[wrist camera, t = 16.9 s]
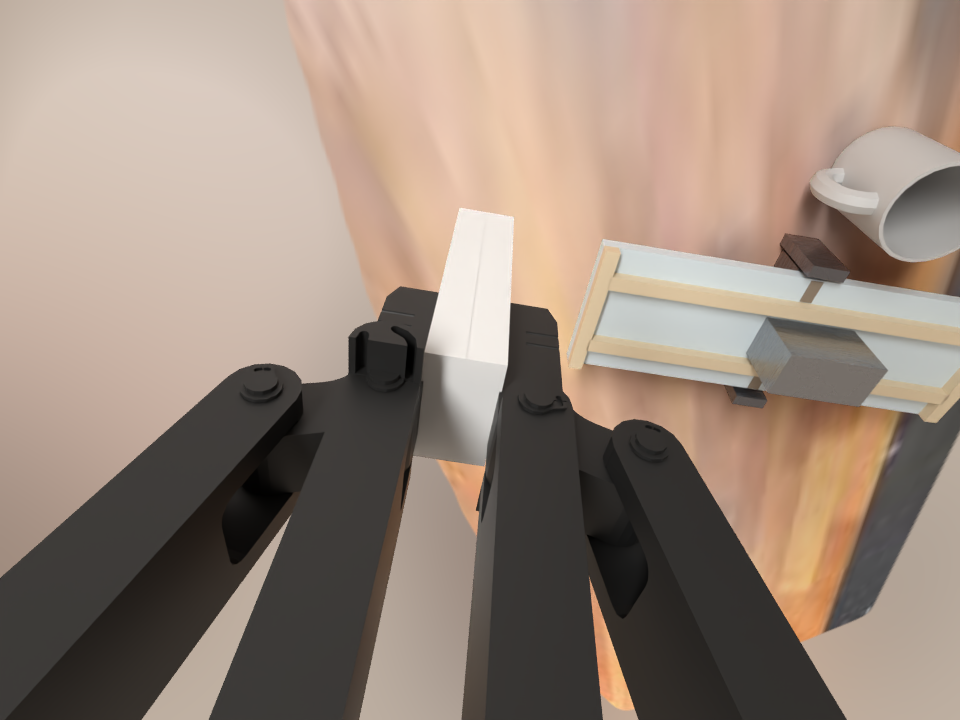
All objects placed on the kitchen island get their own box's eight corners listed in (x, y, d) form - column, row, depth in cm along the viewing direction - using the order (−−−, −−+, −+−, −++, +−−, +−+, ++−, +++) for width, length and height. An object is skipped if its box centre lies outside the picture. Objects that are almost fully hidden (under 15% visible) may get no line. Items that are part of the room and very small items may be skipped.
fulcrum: (785, 233, 48) (813, 265, 43) (818, 239, 48) (850, 271, 43) (715, 364, 57) (732, 403, 52) (742, 369, 57) (762, 408, 53)
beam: (602, 238, 45) (606, 251, 43) (1012, 306, 47) (1032, 320, 45) (566, 353, 52) (568, 367, 50) (922, 407, 54) (936, 422, 52)
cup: (898, 214, 46) (964, 263, 39) (777, 211, 47) (821, 259, 40) (941, 124, 42) (1026, 162, 35) (807, 122, 42) (863, 159, 35)
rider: (766, 316, 47) (791, 355, 43) (854, 331, 48) (888, 370, 43) (745, 353, 50) (767, 393, 45) (829, 366, 50) (859, 406, 46)
